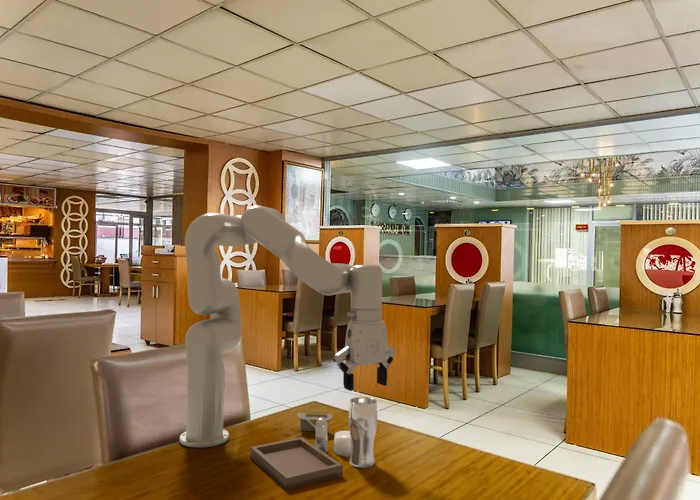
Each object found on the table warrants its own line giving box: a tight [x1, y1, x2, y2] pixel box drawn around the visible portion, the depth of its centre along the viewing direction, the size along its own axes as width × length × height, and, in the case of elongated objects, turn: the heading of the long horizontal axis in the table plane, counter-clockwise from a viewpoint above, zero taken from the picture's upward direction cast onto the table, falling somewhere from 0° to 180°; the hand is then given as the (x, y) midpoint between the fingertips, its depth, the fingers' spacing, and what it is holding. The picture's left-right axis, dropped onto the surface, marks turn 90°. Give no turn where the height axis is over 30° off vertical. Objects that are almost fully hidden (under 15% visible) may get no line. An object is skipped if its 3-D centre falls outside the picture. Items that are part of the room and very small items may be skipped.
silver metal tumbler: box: [348, 396, 378, 469], centre depth 124 cm, size 7×7×15 cm
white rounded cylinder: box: [333, 430, 351, 458], centre depth 131 cm, size 7×7×4 cm
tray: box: [249, 437, 344, 491], centre depth 121 cm, size 20×14×2 cm
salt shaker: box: [314, 418, 329, 454], centre depth 131 cm, size 3×3×8 cm
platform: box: [296, 408, 333, 432], centre depth 145 cm, size 12×18×7 cm, turn 88°
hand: (365, 386), depth 124 cm, fingers open, 9 cm apart
